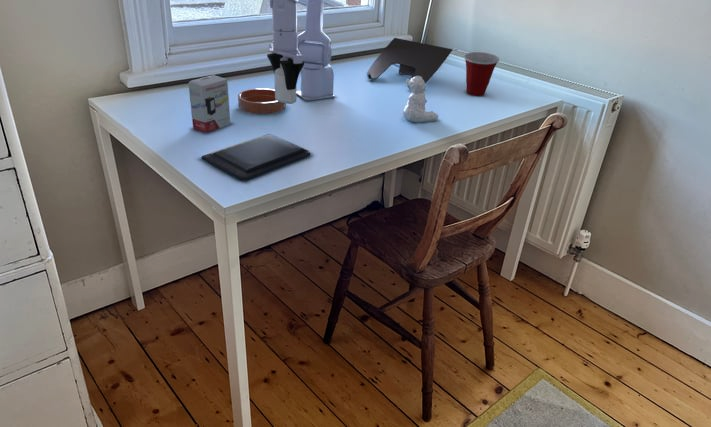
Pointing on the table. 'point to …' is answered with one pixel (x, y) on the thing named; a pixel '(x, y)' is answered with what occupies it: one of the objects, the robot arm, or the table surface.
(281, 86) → the eye dropper bottle
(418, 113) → the white creature statuette
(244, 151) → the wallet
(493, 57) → the plastic cup
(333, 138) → the table surface
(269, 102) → the bowl
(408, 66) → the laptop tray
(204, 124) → the ink box
